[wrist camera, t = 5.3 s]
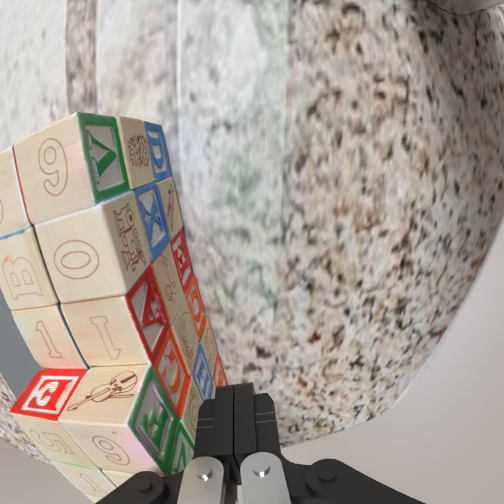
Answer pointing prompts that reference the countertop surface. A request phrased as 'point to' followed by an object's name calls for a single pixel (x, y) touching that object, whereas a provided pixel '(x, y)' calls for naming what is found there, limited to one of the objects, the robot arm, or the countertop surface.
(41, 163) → the stack of blocks
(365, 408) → the countertop surface
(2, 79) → the countertop surface
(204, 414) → the robot arm
